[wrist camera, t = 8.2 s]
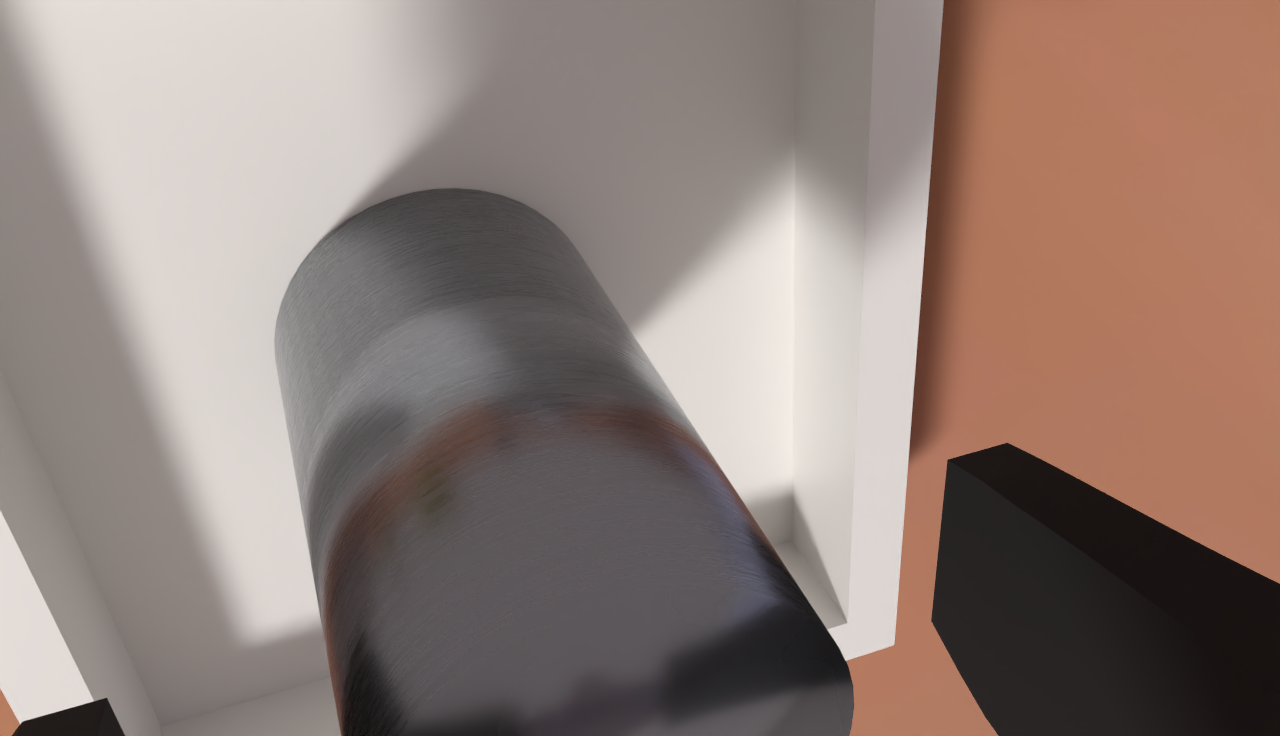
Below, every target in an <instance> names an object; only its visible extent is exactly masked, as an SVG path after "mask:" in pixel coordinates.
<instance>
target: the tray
mask: <svg viewBox="0 0 1280 736" xmlns="http://www.w3.org/2000/svg"><path fill="white" fill-rule="evenodd" d="M943 3H944V0H0V688H1V690H2V692H3V694H4V696H5V697H6V699H7V701H8V703H9V705H10V707H11V708H12V710H13V712H14V714H15V716H16V717H17V719H18V721H19V723H20V724H21V723H22V722H23V721H26V720H30V719H33V718H37V717H40V716H44V715H47V714H51V713H55V712H58V711H62V710H65V709H69V708H72V707H76V706H79V705H83V704H86V703H90V702H93V701H97V700H100V699H104V698H107V699H108V701H109V703H110V705H111V707H112V709H113V711H114V713H115V716H116V718H117V720H118V722H119V724H120V726H121V728H122V730H123V732H124V734H125V736H341V732H340V727H339V721H338V715H337V710H336V704H335V698H334V692H333V687H332V681H331V675H330V670H329V664H328V658H327V653H326V647H325V641H324V635H323V630H322V624H321V618H320V613H319V607H318V601H317V595H316V590H315V584H314V578H313V573H312V567H311V561H310V555H309V550H308V544H307V538H306V533H305V527H304V521H303V515H302V510H301V504H300V498H299V493H298V487H297V481H296V476H295V470H294V464H293V458H292V453H291V447H290V441H289V436H288V430H287V424H286V418H285V413H284V407H283V401H282V396H281V390H280V384H279V378H278V373H277V367H276V361H275V346H274V338H275V329H276V320H277V317H278V313H279V309H280V305H281V302H282V299H283V297H284V295H285V292H286V290H287V288H288V285H289V283H290V281H291V280H292V278H293V276H294V275H295V273H296V271H297V270H298V268H299V266H300V265H301V264H302V262H303V261H304V260H305V259H306V257H307V256H308V255H309V254H310V252H311V251H312V250H313V249H314V248H315V247H316V246H317V245H318V244H319V243H320V242H321V241H322V240H323V239H324V238H325V237H326V236H327V235H328V234H329V233H330V232H332V231H333V230H334V229H336V228H337V227H338V226H340V225H341V224H343V223H344V222H345V221H347V220H348V219H349V218H351V217H353V216H355V215H357V214H358V213H360V212H362V211H364V210H365V209H367V208H369V207H371V206H374V205H376V204H379V203H381V202H384V201H386V200H388V199H391V198H394V197H398V196H402V195H405V194H409V193H412V192H418V191H425V190H431V189H448V188H461V189H472V190H481V191H486V192H490V193H495V194H499V195H502V196H505V197H508V198H511V199H513V200H516V201H519V202H521V203H523V204H525V205H527V206H529V207H530V208H532V209H534V210H536V211H538V212H539V213H541V214H542V215H543V216H545V217H546V218H548V219H549V220H550V221H552V222H553V223H554V224H555V225H556V226H557V227H558V228H559V229H560V230H561V231H562V232H563V233H564V234H565V235H566V236H567V237H568V238H569V240H570V241H571V242H572V244H573V245H574V246H575V248H576V249H577V250H578V252H579V253H580V255H581V256H582V258H583V259H584V261H585V262H586V264H587V265H588V267H589V268H590V270H591V271H592V273H593V274H594V276H595V277H596V279H597V281H598V282H599V284H600V285H601V287H602V288H603V290H604V291H605V293H606V294H607V296H608V297H609V299H610V300H611V302H612V303H613V305H614V306H615V308H616V309H617V311H618V312H619V314H620V315H621V317H622V319H623V320H624V322H625V323H626V325H627V326H628V328H629V329H630V331H631V332H632V334H633V335H634V337H635V338H636V340H637V341H638V343H639V344H640V346H641V347H642V349H643V350H644V352H645V353H646V355H647V357H648V358H649V360H650V361H651V363H652V364H653V366H654V367H655V369H656V370H657V372H658V373H659V375H660V376H661V378H662V379H663V381H664V382H665V384H666V385H667V387H668V388H669V390H670V391H671V393H672V395H673V396H674V398H675V399H676V401H677V402H678V404H679V405H680V407H681V408H682V410H683V411H684V413H685V414H686V416H687V417H688V419H689V420H690V422H691V423H692V425H693V426H694V428H695V429H696V431H697V433H698V434H699V436H700V437H701V439H702V440H703V442H704V443H705V445H706V446H707V448H708V449H709V451H710V452H711V454H712V455H713V457H714V458H715V460H716V461H717V463H718V464H719V466H720V467H721V469H722V471H723V472H724V474H725V475H726V477H727V478H728V480H729V481H730V483H731V484H732V486H733V487H734V489H735V490H736V492H737V493H738V495H739V496H740V498H741V499H742V501H743V502H744V504H745V505H746V507H747V508H748V510H749V512H750V513H751V515H752V516H753V518H754V519H755V521H756V522H757V524H758V525H759V527H760V528H761V530H762V531H763V533H764V534H765V536H766V537H767V539H768V540H769V542H770V543H771V545H772V546H773V548H774V550H775V551H776V553H777V554H778V556H779V557H780V559H781V560H782V562H783V563H784V565H785V566H786V568H787V569H788V571H789V572H790V574H791V575H792V577H793V578H794V580H795V581H796V583H797V584H798V586H799V588H800V589H801V591H802V592H803V594H804V595H805V597H806V598H807V600H808V601H809V603H810V604H811V606H812V607H813V609H814V610H815V612H816V613H817V615H818V616H819V618H820V619H821V621H822V622H823V624H824V626H825V627H826V629H827V630H828V632H829V633H830V635H831V636H832V638H833V639H834V641H835V642H836V644H837V645H838V647H839V648H840V651H841V653H842V655H843V657H844V659H845V661H847V660H850V659H853V658H856V657H859V656H862V655H865V654H868V653H871V652H874V651H878V650H881V649H884V648H887V647H890V646H893V645H894V641H895V628H896V615H897V602H898V589H899V576H900V563H901V550H902V537H903V524H904V511H905V498H906V485H907V471H908V458H909V445H910V432H911V419H912V406H913V393H914V380H915V367H916V354H917V341H918V328H919V315H920V302H921V289H922V276H923V263H924V250H925V237H926V224H927V211H928V198H929V185H930V172H931V159H932V146H933V133H934V120H935V107H936V94H937V81H938V68H939V55H940V42H941V29H942V16H943Z"/></svg>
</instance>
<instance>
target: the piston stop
mask: <svg viewBox="0 0 1280 736" xmlns="http://www.w3.org/2000/svg"><path fill="white" fill-rule="evenodd" d="M274 346H275V361H276V367H277V373H278V378H279V384H280V390H281V396H282V401H283V407H284V413H285V418H286V424H287V430H288V436H289V441H290V447H291V453H292V458H293V464H294V470H295V476H296V481H297V487H298V493H299V498H300V504H301V510H302V515H303V521H304V527H305V533H306V538H307V544H308V550H309V555H310V561H311V567H312V573H313V578H314V584H315V590H316V595H317V601H318V607H319V613H320V618H321V624H322V630H323V635H324V641H325V647H326V653H327V658H328V664H329V670H330V675H331V681H332V687H333V692H334V698H335V704H336V710H337V715H338V721H339V727H340V732H341V736H849V734H850V730H851V725H852V718H853V710H854V697H853V684H852V680H851V676H850V672H849V668H848V665H847V663H846V661H845V659H844V657H843V655H842V653H841V651H840V648H839V647H838V645H837V644H836V642H835V641H834V639H833V638H832V636H831V635H830V633H829V632H828V630H827V629H826V627H825V626H824V624H823V622H822V621H821V619H820V618H819V616H818V615H817V613H816V612H815V610H814V609H813V607H812V606H811V604H810V603H809V601H808V600H807V598H806V597H805V595H804V594H803V592H802V591H801V589H800V588H799V586H798V584H797V583H796V581H795V580H794V578H793V577H792V575H791V574H790V572H789V571H788V569H787V568H786V566H785V565H784V563H783V562H782V560H781V559H780V557H779V556H778V554H777V553H776V551H775V550H774V548H773V546H772V545H771V543H770V542H769V540H768V539H767V537H766V536H765V534H764V533H763V531H762V530H761V528H760V527H759V525H758V524H757V522H756V521H755V519H754V518H753V516H752V515H751V513H750V512H749V510H748V508H747V507H746V505H745V504H744V502H743V501H742V499H741V498H740V496H739V495H738V493H737V492H736V490H735V489H734V487H733V486H732V484H731V483H730V481H729V480H728V478H727V477H726V475H725V474H724V472H723V471H722V469H721V467H720V466H719V464H718V463H717V461H716V460H715V458H714V457H713V455H712V454H711V452H710V451H709V449H708V448H707V446H706V445H705V443H704V442H703V440H702V439H701V437H700V436H699V434H698V433H697V431H696V429H695V428H694V426H693V425H692V423H691V422H690V420H689V419H688V417H687V416H686V414H685V413H684V411H683V410H682V408H681V407H680V405H679V404H678V402H677V401H676V399H675V398H674V396H673V395H672V393H671V391H670V390H669V388H668V387H667V385H666V384H665V382H664V381H663V379H662V378H661V376H660V375H659V373H658V372H657V370H656V369H655V367H654V366H653V364H652V363H651V361H650V360H649V358H648V357H647V355H646V353H645V352H644V350H643V349H642V347H641V346H640V344H639V343H638V341H637V340H636V338H635V337H634V335H633V334H632V332H631V331H630V329H629V328H628V326H627V325H626V323H625V322H624V320H623V319H622V317H621V315H620V314H619V312H618V311H617V309H616V308H615V306H614V305H613V303H612V302H611V300H610V299H609V297H608V296H607V294H606V293H605V291H604V290H603V288H602V287H601V285H600V284H599V282H598V281H597V279H596V277H595V276H594V274H593V273H592V271H591V270H590V268H589V267H588V265H587V264H586V262H585V261H584V259H583V258H582V256H581V255H580V253H579V252H578V250H577V249H576V248H575V246H574V245H573V244H572V242H571V241H570V240H569V238H568V237H567V236H566V235H565V234H564V233H563V232H562V231H561V230H560V229H559V228H558V227H557V226H556V225H555V224H554V223H553V222H552V221H550V220H549V219H548V218H546V217H545V216H543V215H542V214H541V213H539V212H538V211H536V210H534V209H532V208H530V207H529V206H527V205H525V204H523V203H521V202H519V201H516V200H513V199H511V198H508V197H505V196H502V195H499V194H495V193H490V192H486V191H481V190H472V189H461V188H448V189H431V190H425V191H418V192H412V193H409V194H405V195H402V196H398V197H394V198H391V199H388V200H386V201H384V202H381V203H379V204H376V205H374V206H371V207H369V208H367V209H365V210H364V211H362V212H360V213H358V214H357V215H355V216H353V217H351V218H349V219H348V220H347V221H345V222H344V223H343V224H341V225H340V226H338V227H337V228H336V229H334V230H333V231H332V232H330V233H329V234H328V235H327V236H326V237H325V238H324V239H323V240H322V241H321V242H320V243H319V244H318V245H317V246H316V247H315V248H314V249H313V250H312V251H311V252H310V254H309V255H308V256H307V257H306V259H305V260H304V261H303V262H302V264H301V265H300V266H299V268H298V270H297V271H296V273H295V275H294V276H293V278H292V280H291V281H290V283H289V285H288V288H287V290H286V292H285V295H284V297H283V299H282V302H281V305H280V309H279V313H278V317H277V320H276V329H275V338H274Z"/></svg>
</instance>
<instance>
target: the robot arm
mask: <svg viewBox="0 0 1280 736" xmlns="http://www.w3.org/2000/svg"><path fill="white" fill-rule="evenodd" d="M931 621H932V623H933V625H934V627H935V629H936V630H937V632H938V634H939V636H940V638H941V640H942V641H943V643H944V645H945V647H946V649H947V651H948V652H949V654H950V656H951V658H952V660H953V662H954V663H955V665H956V667H957V669H958V671H959V673H960V674H961V676H962V678H963V680H964V681H965V683H966V685H967V686H968V688H969V690H970V692H971V693H972V695H973V697H974V698H975V700H976V702H977V704H978V705H979V707H980V709H981V710H982V712H983V714H984V715H985V717H986V719H987V720H988V721H989V723H990V724H991V726H992V727H993V728H994V730H995V731H996V733H997V734H998V735H999V736H1280V584H1279V583H1277V582H1275V581H1273V580H1271V579H1269V578H1267V577H1265V576H1263V575H1261V574H1259V573H1257V572H1255V571H1253V570H1251V569H1249V568H1247V567H1245V566H1243V565H1241V564H1239V563H1237V562H1235V561H1233V560H1231V559H1229V558H1227V557H1225V556H1223V555H1221V554H1219V553H1217V552H1215V551H1213V550H1211V549H1209V548H1207V547H1206V546H1204V545H1202V544H1200V543H1198V542H1196V541H1194V540H1192V539H1190V538H1188V537H1186V536H1184V535H1183V534H1181V533H1179V532H1177V531H1175V530H1173V529H1171V528H1169V527H1167V526H1165V525H1163V524H1162V523H1160V522H1158V521H1156V520H1154V519H1152V518H1150V517H1148V516H1147V515H1145V514H1143V513H1141V512H1139V511H1137V510H1135V509H1133V508H1132V507H1130V506H1128V505H1126V504H1124V503H1122V502H1120V501H1118V500H1117V499H1115V498H1113V497H1111V496H1109V495H1107V494H1105V493H1104V492H1102V491H1100V490H1098V489H1096V488H1094V487H1092V486H1090V485H1089V484H1087V483H1085V482H1083V481H1081V480H1079V479H1077V478H1075V477H1074V476H1072V475H1070V474H1068V473H1066V472H1064V471H1062V470H1060V469H1058V468H1056V467H1055V466H1053V465H1051V464H1049V463H1047V462H1045V461H1043V460H1041V459H1039V458H1037V457H1035V456H1033V455H1031V454H1029V453H1027V452H1025V451H1023V450H1021V449H1019V448H1017V447H1015V446H1013V445H1011V444H1009V443H1005V444H1002V445H998V446H995V447H991V448H988V449H984V450H981V451H977V452H973V453H970V454H966V455H963V456H959V457H956V458H952V459H949V460H948V461H947V471H946V481H945V491H944V501H943V511H942V521H941V531H940V541H939V551H938V560H937V570H936V580H935V590H934V600H933V610H932V620H931ZM12 736H125V734H124V732H123V730H122V728H121V726H120V724H119V722H118V720H117V718H116V716H115V713H114V711H113V709H112V707H111V705H110V703H109V701H108V699H107V698H104V699H100V700H97V701H93V702H90V703H86V704H83V705H79V706H76V707H72V708H69V709H65V710H62V711H58V712H55V713H51V714H47V715H44V716H40V717H37V718H33V719H30V720H26V721H23V722H22V723H21V724H20V725H19V727H18V728H17V729H16V731H15V732H14V734H13V735H12Z"/></svg>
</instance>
